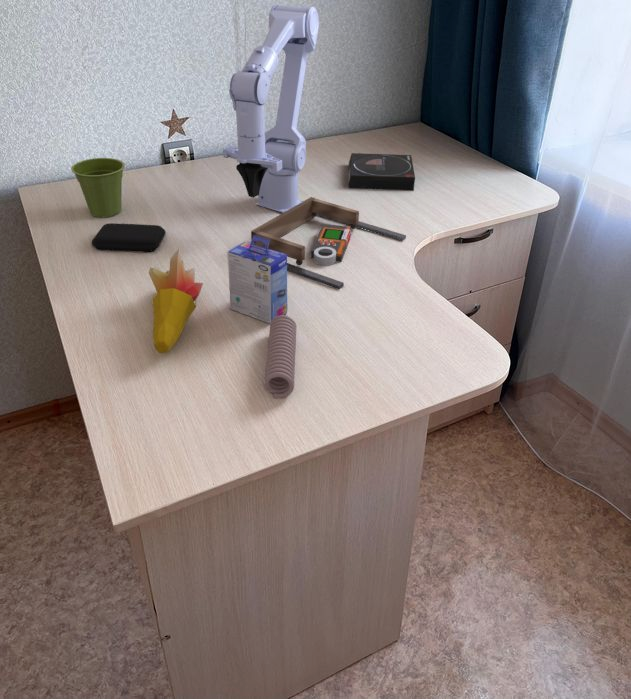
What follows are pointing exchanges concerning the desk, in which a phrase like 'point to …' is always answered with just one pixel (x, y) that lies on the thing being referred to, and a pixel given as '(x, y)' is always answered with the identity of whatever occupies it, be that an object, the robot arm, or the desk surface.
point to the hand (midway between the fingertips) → (253, 195)
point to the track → (334, 282)
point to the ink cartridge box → (258, 280)
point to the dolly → (297, 217)
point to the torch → (172, 301)
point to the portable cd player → (381, 172)
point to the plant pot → (101, 184)
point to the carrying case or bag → (129, 237)
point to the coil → (281, 357)
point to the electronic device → (330, 244)
